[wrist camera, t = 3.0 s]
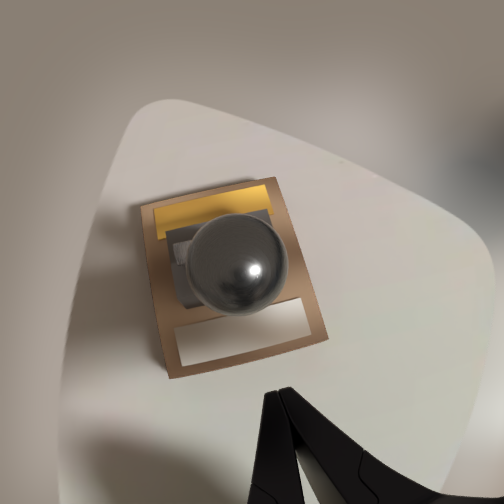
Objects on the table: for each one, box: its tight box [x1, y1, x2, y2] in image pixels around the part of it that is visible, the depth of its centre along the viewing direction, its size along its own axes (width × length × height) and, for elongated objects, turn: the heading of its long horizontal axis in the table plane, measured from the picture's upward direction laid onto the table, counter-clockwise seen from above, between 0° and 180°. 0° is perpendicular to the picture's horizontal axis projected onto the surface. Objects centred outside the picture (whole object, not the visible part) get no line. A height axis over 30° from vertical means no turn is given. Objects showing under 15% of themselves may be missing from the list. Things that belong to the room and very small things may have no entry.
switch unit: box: [140, 177, 329, 379], centre depth 20 cm, size 12×10×5 cm
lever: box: [173, 213, 289, 317], centre depth 12 cm, size 3×5×9 cm, turn 106°
